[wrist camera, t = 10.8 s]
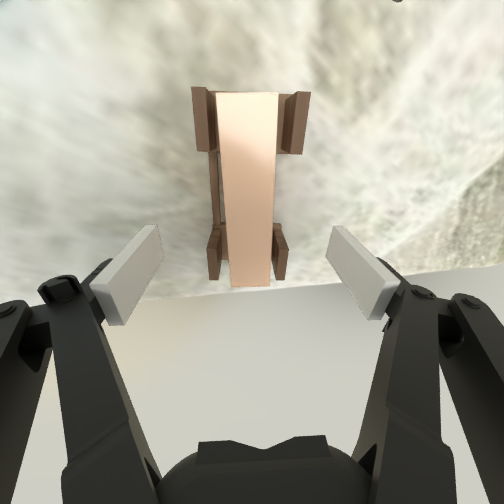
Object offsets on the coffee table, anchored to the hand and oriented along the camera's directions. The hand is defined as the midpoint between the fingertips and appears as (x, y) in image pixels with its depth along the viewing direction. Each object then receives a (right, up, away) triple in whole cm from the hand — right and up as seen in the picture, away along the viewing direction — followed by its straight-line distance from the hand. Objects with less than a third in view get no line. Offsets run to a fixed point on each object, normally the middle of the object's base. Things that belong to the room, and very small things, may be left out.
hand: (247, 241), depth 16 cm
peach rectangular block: (0, +7, +13) cm, 15 cm away
